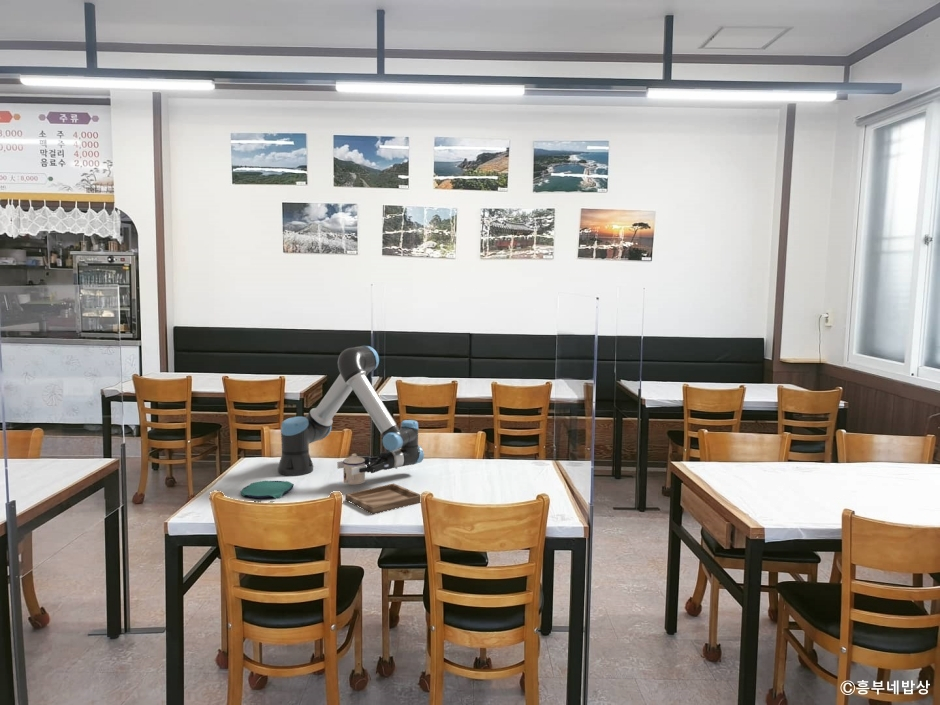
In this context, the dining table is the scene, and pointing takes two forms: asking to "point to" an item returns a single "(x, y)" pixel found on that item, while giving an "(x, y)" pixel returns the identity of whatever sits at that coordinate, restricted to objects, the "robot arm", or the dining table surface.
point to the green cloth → (267, 489)
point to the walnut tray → (383, 498)
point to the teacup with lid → (351, 463)
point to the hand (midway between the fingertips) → (344, 468)
